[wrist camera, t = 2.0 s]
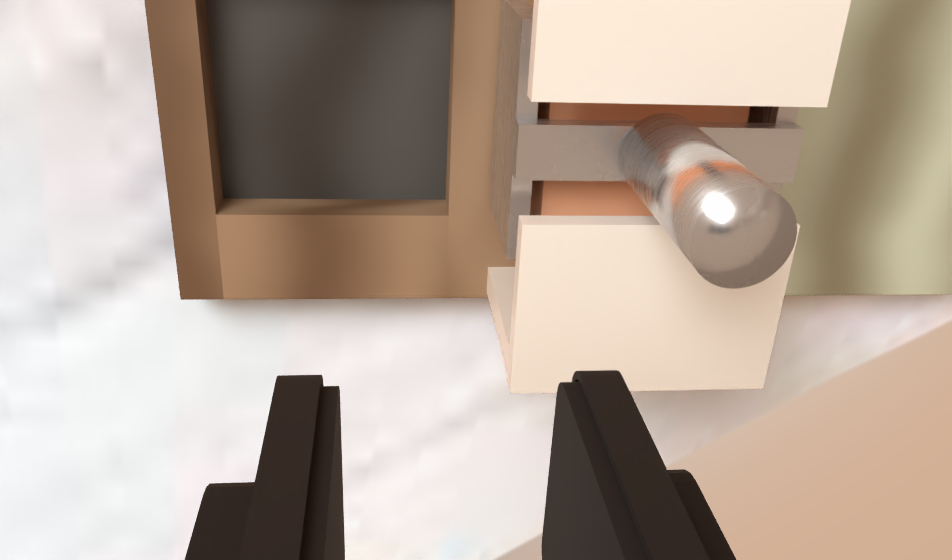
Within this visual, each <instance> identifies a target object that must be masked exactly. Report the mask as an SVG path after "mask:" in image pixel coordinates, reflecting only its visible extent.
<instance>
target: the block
mask: <svg viewBox="0 0 952 560" xmlns="http://www.w3.org/2000/svg"><path fill="white" fill-rule="evenodd" d="M749 110H750V106H726V105H673V104H621V103H568V102H538V114H537V119H565V120H625V121H641V120H642V119H644V118H646V117H648V116H651V115H654V114H658V113H674V114H678V115H680V116H683V117H685V118H686V119H688V120H689V121H690V122H744V123H747V121H748V115H749ZM531 206H532V209H533V211H534V213H535V215H552V216H653V214H652V213H651V212H650V211H649V209H648V208H647V207H646V205H645V204H644V203H643V202H642V200H641V199H640V198H639V197H638V195H637V194H636V193H635V191H634V190H633V189H632V188H631V186H630V185H629V184H628V183H627V181H544V180H532V192H531Z"/></svg>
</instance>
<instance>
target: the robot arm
mask: <svg viewBox="0 0 952 560" xmlns="http://www.w3.org/2000/svg"><path fill="white" fill-rule="evenodd" d="M185 560H345V545H344V513H343V481H342V449H341V417H340V390H339V386H323V377H322V375H288V376H277V379H276V382H275V387H274V392H273V397H272V402H271V407H270V411H269V416H268V421H267V426H266V431H265V436H264V441H263V445H262V450H261V455H260V460H259V465H258V470H257V474H256V479H255V482H248V483H214V484H209V485H208V486H207V487H206V489H205V492H204V495H203V498H202V501H201V505H200V508H199V512H198V515H197V519H196V522H195V526H194V529H193V533H192V536H191V540H190V543H189V547H188V550H187V554H186V557H185ZM542 560H736V558H735V556H734V554H733V552H732V550H731V549H730V546H729V544H728V543H727V541H726V539H725V537H724V535H723V533H722V531H721V529H720V527H719V525H718V523H717V521H716V519H715V517H714V515H713V513H712V511H711V509H710V507H709V506H708V504H707V502H706V500H705V498H704V496H703V494H702V492H701V490H700V488H699V486H698V484H697V482H696V480H695V479H694V478H693V476H692V475H691V473H689V472H688V471H686V470H667V469H666V467H665V465H664V463H663V461H662V459H661V456H660V454H659V452H658V450H657V448H656V446H655V444H654V442H653V440H652V437H651V435H650V433H649V431H648V429H647V427H646V425H645V423H644V421H643V418H642V416H641V414H640V412H639V410H638V408H637V406H636V404H635V402H634V400H633V397H632V395H631V393H630V391H629V389H628V387H627V385H626V383H625V381H624V378H623V376H622V375H621V373H620V372H619V371H617V370H595V371H575V373H574V374H573V377H572V382H560V383H559V385H558V389H557V397H556V407H555V417H554V427H553V437H552V447H551V457H550V467H549V476H548V486H547V496H546V506H545V516H544V526H543V536H542Z"/></svg>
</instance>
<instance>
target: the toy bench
mask: <svg viewBox="0 0 952 560" xmlns="http://www.w3.org/2000/svg"><path fill="white" fill-rule="evenodd" d="M850 3H851V0H534V6H533V20H532V34H531V49H530V63H529V77H528V91H527V96H528V97H529V99H530V100H531V102H568V103H621V104H673V105H726V106H779V107H827V105H828V100H829V96H830V92H831V87H832V83H833V78H834V74H835V70H836V65H837V61H838V56H839V52H840V47H841V43H842V39H843V34H844V30H845V25H846V21H847V16H848V12H849V8H850ZM799 229H800V225H799V224H798V223H797V236H796V241H795V245H794V247H793V250H792V252H791V254H790V255H789V257H788V259H787V260H786V262H785V263H784V264H783V265H782V266H781V267H780V269H779V270H778V271H776V272H775V273H774V274H773V275H771V276H770V277H769V278H767V279H765V280H764V281H762V282H760V283H758V284H755V285H752V286H749V287H744V288H736V289H731V288H723V287H719V286H716V285H714V284H712V283H710V282H708V281H707V280H705V279H704V278H703V277H702V276H701V275H700V274H699V273H698V272H697V270H696V269H695V268H694V267H693V265H692V264H691V263H690V262H689V260H688V259H687V258H686V256H685V255H684V254H683V253H682V251H681V250H680V249H679V248H678V246H677V245H676V244H675V242H674V241H673V240H672V239H671V237H670V236H669V235H668V234H667V232H666V231H665V230H664V228H663V227H662V226H661V225H660V223H659V222H658V221H657V219H656V218H655V217H654V216H552V215H519V219H518V233H517V248H516V262H515V267H488V275H487V295H488V299H489V303H490V307H491V311H492V315H493V319H494V323H495V327H496V331H497V335H498V339H499V343H500V347H501V351H502V355H503V359H504V363H505V367H506V371H507V375H508V376H507V383H508V387H509V391H510V394H513V393H557V389H558V385H559V383H560V382H572V377H573V374H574V373H575V371H595V370H617V371H619V372H620V373H621V375H622V376H623V378H624V381H625V383H626V385H627V387H628V389H629V391H670V390H722V389H763V388H764V383H765V379H766V374H767V370H768V366H769V361H770V357H771V352H772V348H773V343H774V339H775V335H776V330H777V326H778V321H779V317H780V313H781V308H782V304H783V299H784V295H785V290H786V286H787V282H788V277H789V273H790V268H791V264H792V260H793V255H794V251H795V246H796V242H797V237H798V233H799Z"/></svg>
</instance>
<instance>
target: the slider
mask: <svg viewBox="0 0 952 560" xmlns="http://www.w3.org/2000/svg"><path fill="white" fill-rule="evenodd" d="M532 20H533V8H532V7H531V6H530V5H529V4H527V3H526V2H525V1H524V0H501V5H500V23H499V42H498V60H497V79H496V97H495V116H494V135H493V153H492V172H491V190H490V208H491V211H492V215H493V218H494V221H495V224H496V227H497V230H498V233H499V236H500V239H501V243H502V246H503V249H504V252H505V255H506V258H507V259H516V248H517V233H518V219H519V215H530V205H531V192H532V180H544V181H627V183H628V184H629V185H630V186H631V188H632V189H633V190H634V191H635V193H636V194H637V195H638V197H639V198H640V199H641V200H642V202H643V203H644V204H645V205H646V207H647V208H648V209H649V211H650V212H651V213H652V214H653V216H654V217H655V218H656V219H657V221H658V222H659V223H660V225H661V226H662V227H663V228H664V230H665V231H666V232H667V234H668V235H669V236H670V237H671V239H672V240H673V241H674V242H675V244H676V245H677V246H678V248H679V249H680V250H681V251H682V253H683V254H684V255H685V256H686V258H687V259H688V260H689V262H690V263H691V264H692V265H693V267H694V268H695V269H696V270H697V272H698V273H699V274H700V275H701V276H702V277H703V278H704V279H705V280H707V281H708V282H710V283H712V284H714V285H716V286H719V287H723V288H731V289H736V288H744V287H749V286H752V285H755V284H758V283H760V282H762V281H764V280H765V279H767V278H769V277H770V276H771V275H773V274H774V273H775V272H776V271H778V270H779V269H780V267H781V266H782V265H783V264H784V263H785V262H786V260H787V259H788V257H789V255H790V254H791V252H792V250H793V247H794V245H795V241H796V236H797V220H796V217H795V213H794V211H793V209H792V207H791V206H790V204H789V203H788V202H787V201H786V200H785V198H783V197H782V196H781V190H782V185H783V183H793V181H794V177H795V172H796V168H797V163H798V158H799V154H800V149H801V145H802V140H803V135H804V131H805V129H804V128H802V127H801V126H799V125H797V124H796V119H797V114H798V110H799V107H779V106H750V110H749V115H748V121H747V123H744V122H690V121H689V120H688V119H686V118H685V117H683V116H680V115H678V114H674V113H658V114H654V115H651V116H648V117H646V118H644V119H642V120H641V121H625V120H565V119H537V114H538V102H531V100H530V99H529V97H528V96H527V91H528V77H529V63H530V49H531V34H532Z"/></svg>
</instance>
